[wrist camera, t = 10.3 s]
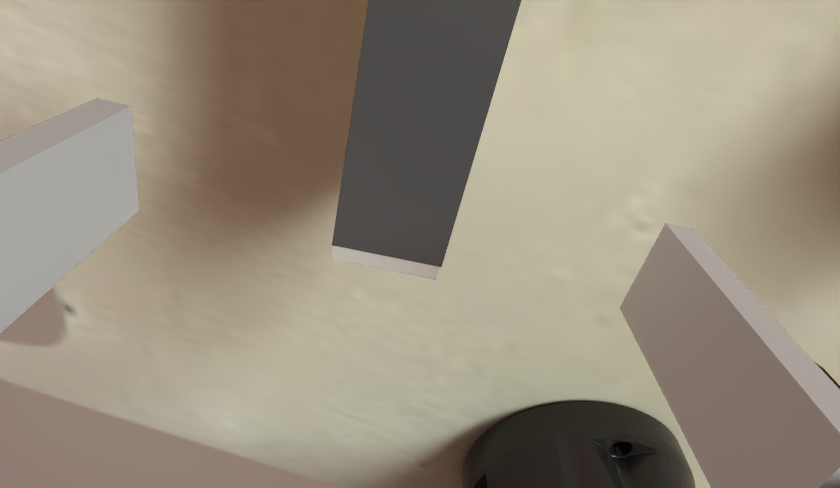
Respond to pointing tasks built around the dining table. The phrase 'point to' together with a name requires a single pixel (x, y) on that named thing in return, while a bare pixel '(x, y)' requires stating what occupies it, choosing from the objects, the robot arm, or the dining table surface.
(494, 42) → the white rectangular block
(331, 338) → the dining table surface
